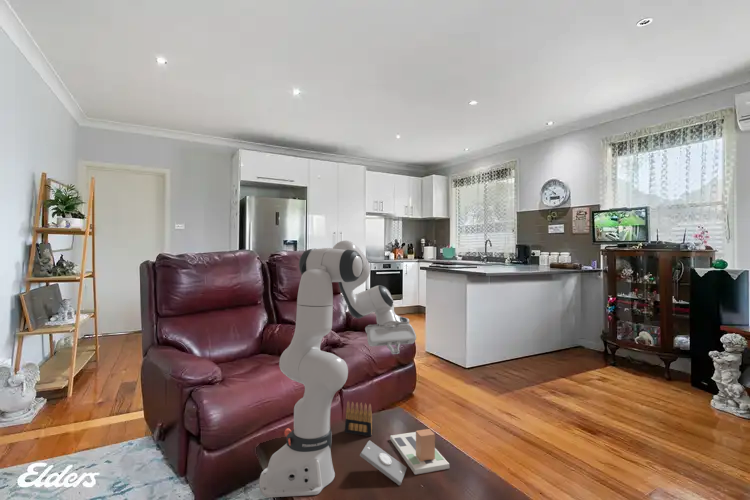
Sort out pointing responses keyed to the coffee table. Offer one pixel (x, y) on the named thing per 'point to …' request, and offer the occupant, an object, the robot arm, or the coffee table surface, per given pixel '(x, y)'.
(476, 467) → the coffee table surface
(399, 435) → the switch board
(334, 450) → the coffee table surface
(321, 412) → the robot arm
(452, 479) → the coffee table surface
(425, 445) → the tan rectangular block
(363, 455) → the light switch
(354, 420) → the ammunition clip
